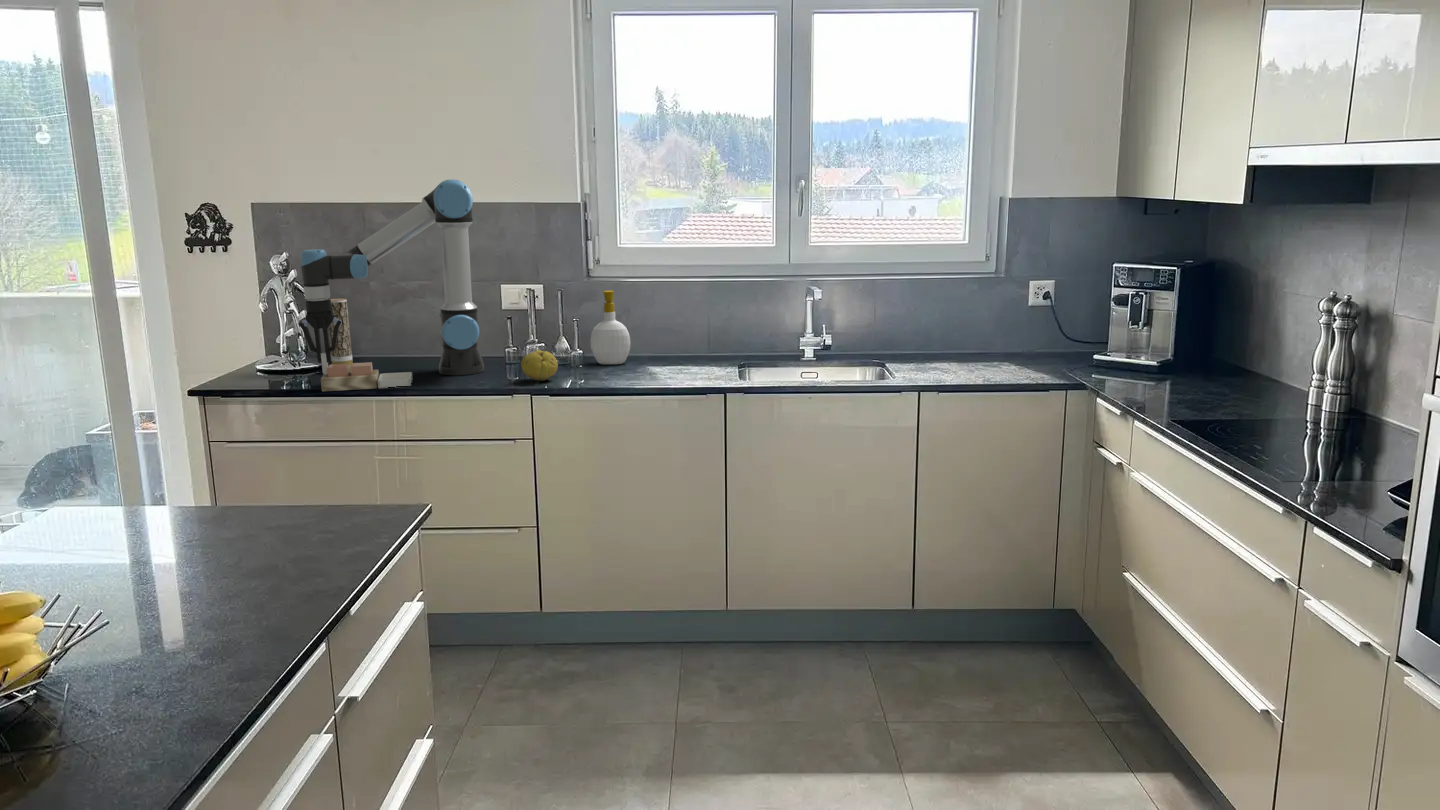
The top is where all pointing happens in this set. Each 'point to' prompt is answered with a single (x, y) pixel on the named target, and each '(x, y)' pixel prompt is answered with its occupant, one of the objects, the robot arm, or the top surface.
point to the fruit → (539, 365)
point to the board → (349, 382)
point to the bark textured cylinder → (341, 333)
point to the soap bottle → (610, 336)
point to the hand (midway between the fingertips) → (325, 372)
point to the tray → (394, 379)
